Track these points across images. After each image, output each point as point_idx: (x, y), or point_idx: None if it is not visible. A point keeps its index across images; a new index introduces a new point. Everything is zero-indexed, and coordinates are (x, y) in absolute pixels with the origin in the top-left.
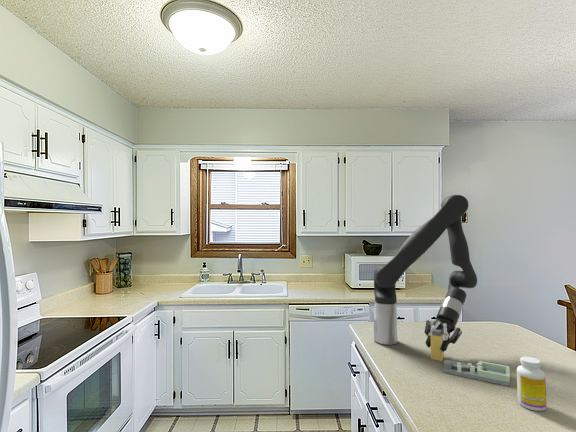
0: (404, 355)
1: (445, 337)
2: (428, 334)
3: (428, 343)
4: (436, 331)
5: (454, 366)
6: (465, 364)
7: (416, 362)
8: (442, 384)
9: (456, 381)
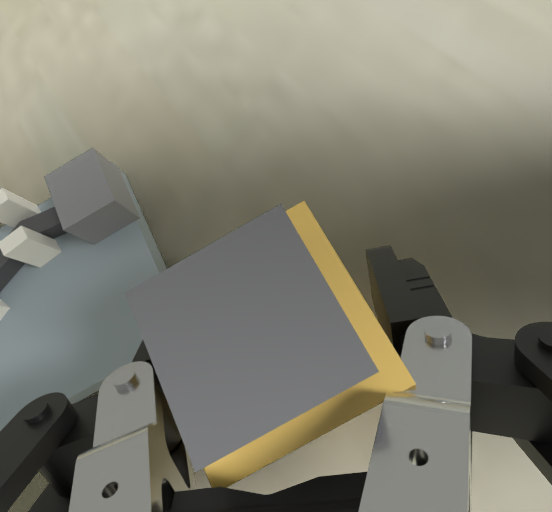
0: (507, 140)
1: (135, 397)
2: (458, 328)
3: (369, 264)
4: (208, 266)
5: (52, 215)
6: (51, 376)
7: (340, 128)
8: (58, 53)
9: (26, 143)
